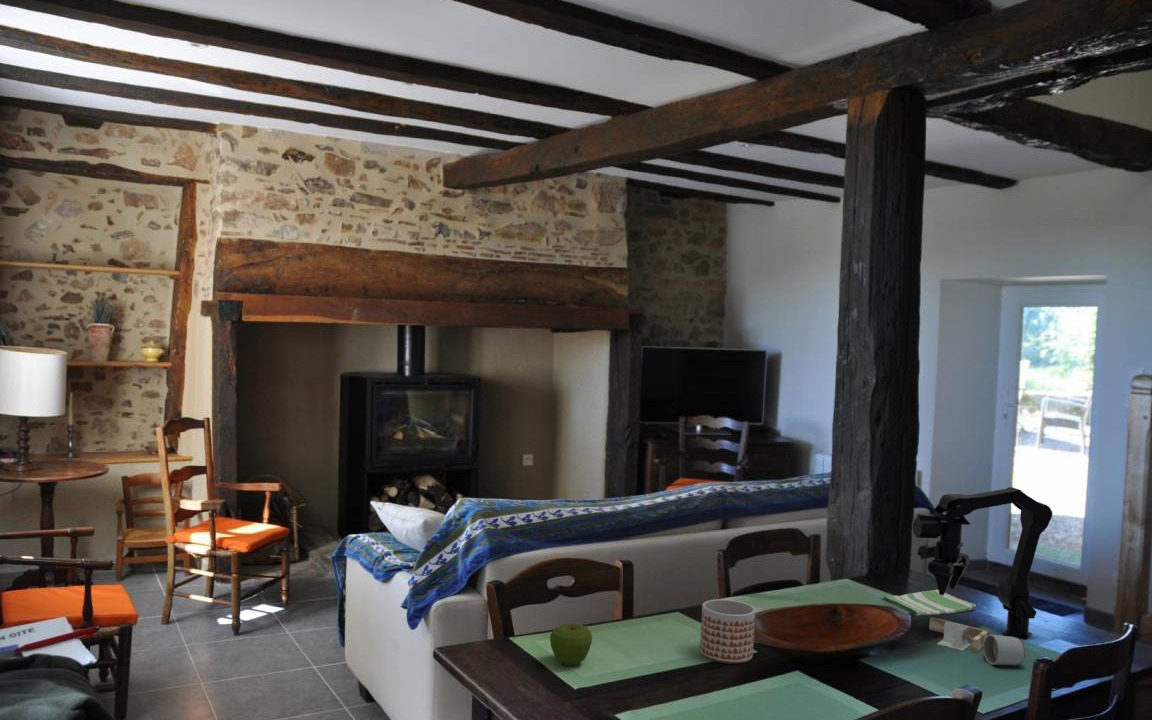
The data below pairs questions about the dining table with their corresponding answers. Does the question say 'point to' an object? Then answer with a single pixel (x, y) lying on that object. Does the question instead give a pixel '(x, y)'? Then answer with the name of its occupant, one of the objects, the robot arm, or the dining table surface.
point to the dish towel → (930, 603)
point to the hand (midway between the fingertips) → (946, 591)
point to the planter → (727, 631)
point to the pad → (949, 644)
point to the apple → (571, 643)
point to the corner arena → (974, 633)
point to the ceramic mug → (1003, 650)
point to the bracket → (956, 634)
